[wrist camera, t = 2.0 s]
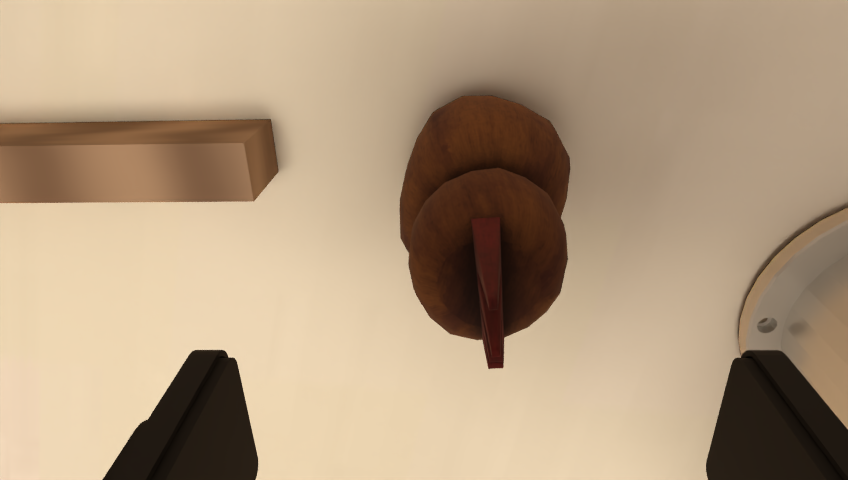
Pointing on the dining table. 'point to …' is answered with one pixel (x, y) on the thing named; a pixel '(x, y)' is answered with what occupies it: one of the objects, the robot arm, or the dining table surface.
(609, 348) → the dining table surface
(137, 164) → the u rest
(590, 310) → the dining table surface
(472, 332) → the wooden figurine
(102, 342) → the dining table surface
